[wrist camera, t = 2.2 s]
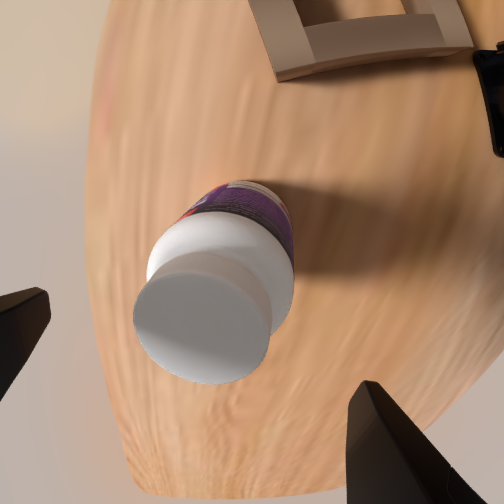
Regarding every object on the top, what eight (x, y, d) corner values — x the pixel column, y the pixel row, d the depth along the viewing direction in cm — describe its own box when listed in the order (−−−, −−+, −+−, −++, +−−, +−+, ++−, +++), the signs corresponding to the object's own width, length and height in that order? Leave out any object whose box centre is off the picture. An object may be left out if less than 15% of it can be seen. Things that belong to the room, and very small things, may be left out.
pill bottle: (207, 167, 16) (118, 217, 7) (305, 197, 17) (328, 283, 8) (185, 256, 19) (109, 367, 10) (274, 284, 19) (261, 417, 10)
